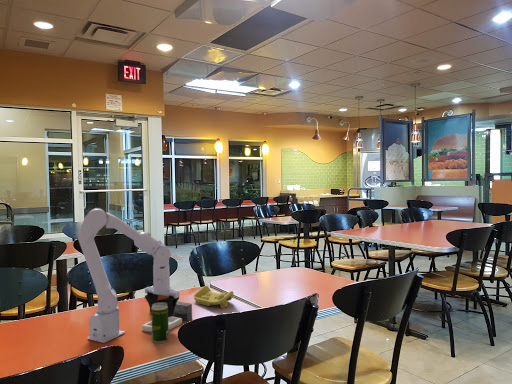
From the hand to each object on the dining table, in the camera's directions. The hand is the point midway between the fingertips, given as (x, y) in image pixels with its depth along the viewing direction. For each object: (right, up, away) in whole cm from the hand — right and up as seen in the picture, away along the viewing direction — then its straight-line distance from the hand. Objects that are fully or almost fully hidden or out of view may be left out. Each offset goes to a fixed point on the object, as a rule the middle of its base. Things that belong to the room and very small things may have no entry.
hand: (162, 314), depth 140 cm
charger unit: (+4, -4, +9) cm, 11 cm away
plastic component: (+16, -4, +25) cm, 30 cm away
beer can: (+2, -5, -11) cm, 13 cm away
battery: (-5, -4, +16) cm, 18 cm away
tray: (0, -5, 0) cm, 5 cm away
